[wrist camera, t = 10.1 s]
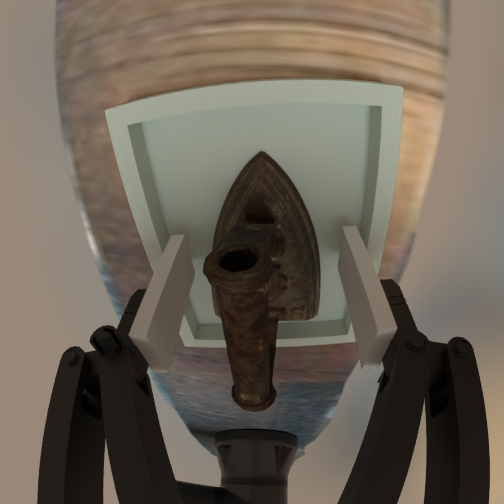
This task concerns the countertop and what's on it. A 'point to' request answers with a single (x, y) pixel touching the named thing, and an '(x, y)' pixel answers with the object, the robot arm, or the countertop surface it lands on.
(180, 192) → the iron rest
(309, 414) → the countertop surface
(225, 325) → the clothes iron
